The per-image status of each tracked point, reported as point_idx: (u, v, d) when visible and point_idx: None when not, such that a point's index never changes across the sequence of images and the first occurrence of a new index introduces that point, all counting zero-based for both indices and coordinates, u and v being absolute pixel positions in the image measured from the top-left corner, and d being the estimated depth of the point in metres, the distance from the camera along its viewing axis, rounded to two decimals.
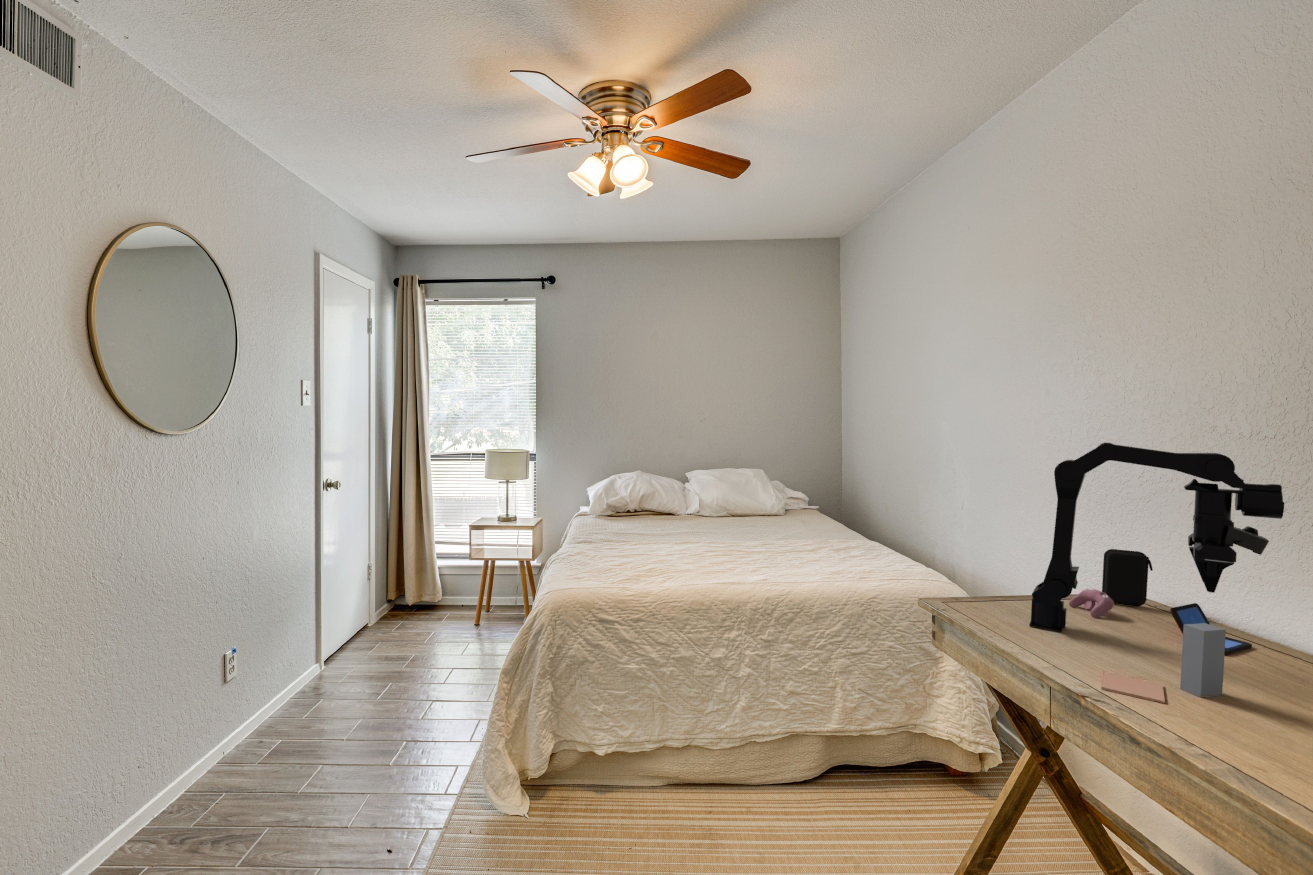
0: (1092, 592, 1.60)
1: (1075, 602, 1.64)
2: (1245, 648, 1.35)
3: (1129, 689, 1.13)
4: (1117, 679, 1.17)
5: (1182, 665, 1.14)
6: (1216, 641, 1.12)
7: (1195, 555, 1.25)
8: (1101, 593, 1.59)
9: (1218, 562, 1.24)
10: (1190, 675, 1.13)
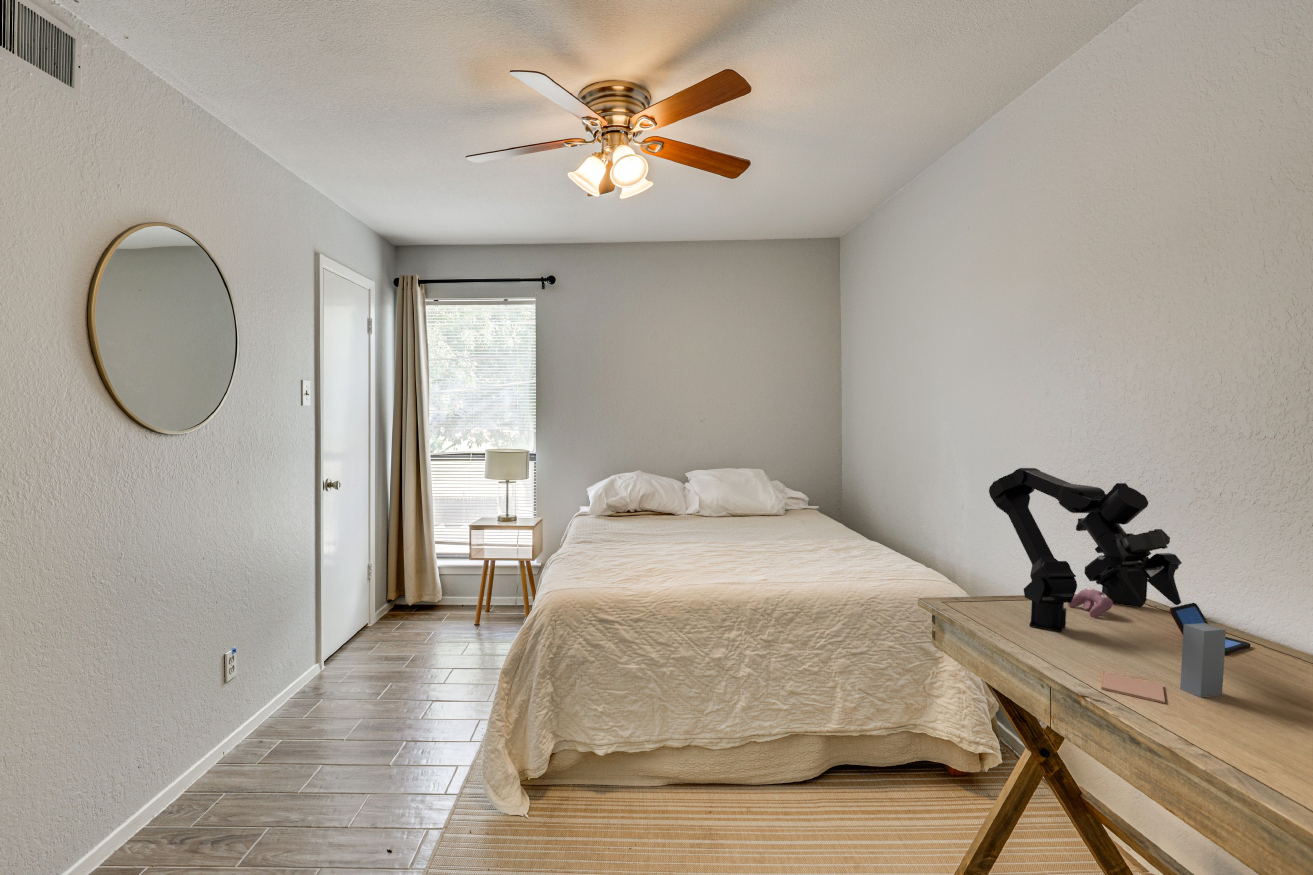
0: (1091, 592, 1.60)
1: (1074, 602, 1.64)
2: (1244, 648, 1.36)
3: (1129, 689, 1.13)
4: (1117, 679, 1.17)
5: (1182, 665, 1.14)
6: (1216, 641, 1.12)
7: None
8: (1100, 593, 1.59)
9: (1107, 574, 1.23)
10: (1190, 675, 1.13)
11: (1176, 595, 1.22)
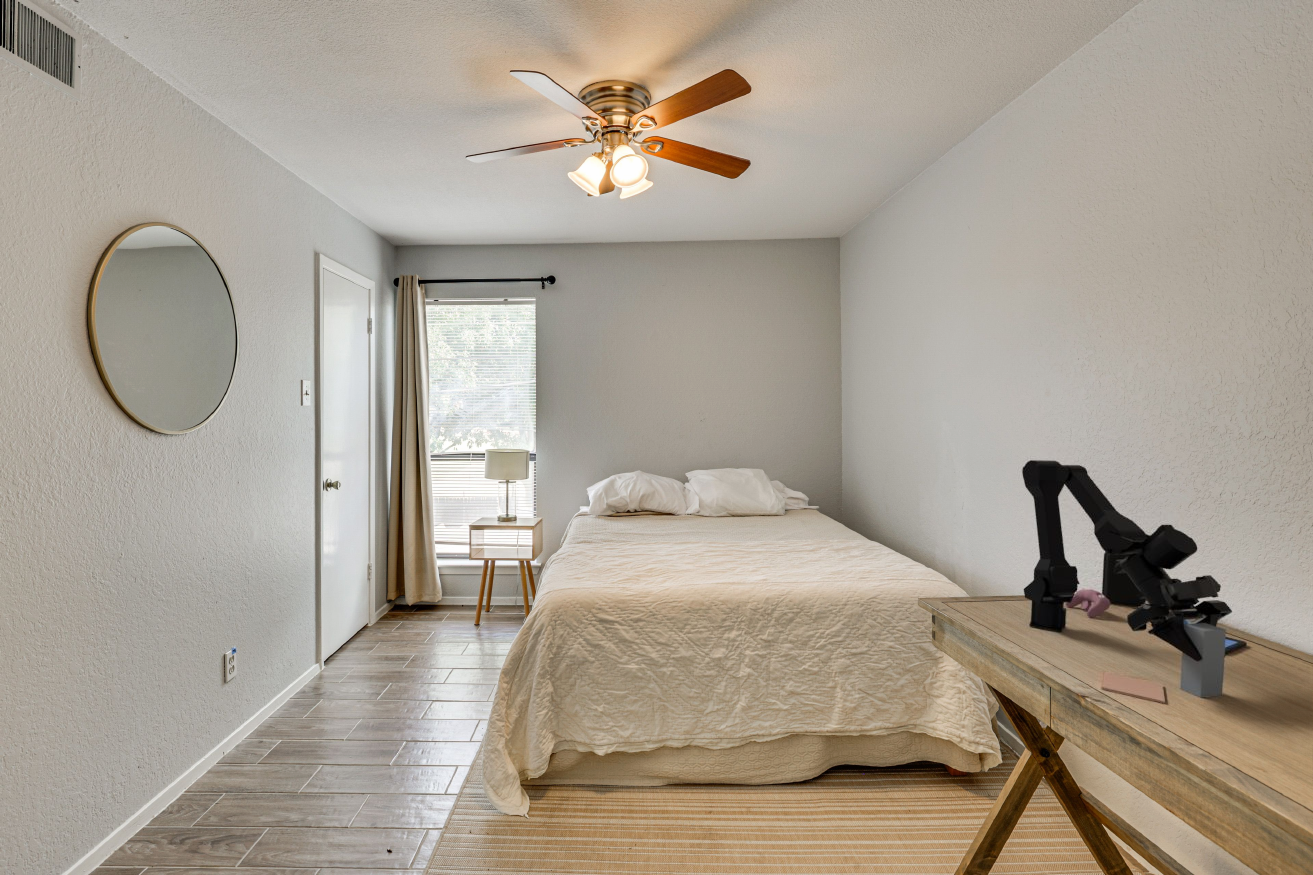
0: (1088, 592, 1.60)
1: (1071, 602, 1.64)
2: (1241, 647, 1.36)
3: (1129, 689, 1.13)
4: (1117, 679, 1.17)
5: (1182, 665, 1.14)
6: (1216, 641, 1.12)
7: (1131, 628, 1.17)
8: (1097, 593, 1.58)
9: (1161, 624, 1.15)
10: (1191, 675, 1.13)
11: None
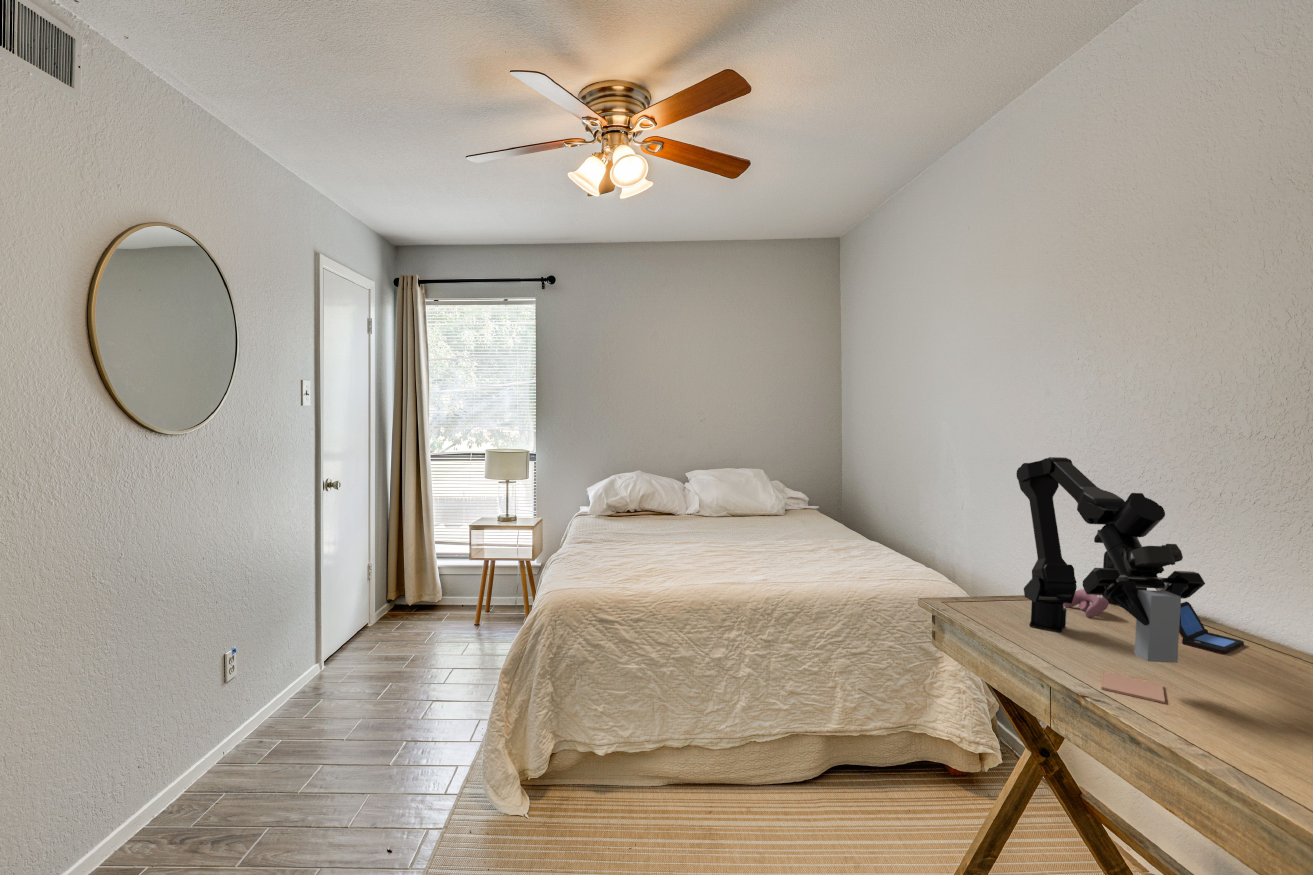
0: None
1: None
2: (1239, 646, 1.37)
3: (1129, 689, 1.13)
4: (1117, 679, 1.17)
5: (1136, 630, 1.15)
6: (1168, 607, 1.12)
7: None
8: None
9: (1112, 588, 1.17)
10: (1141, 639, 1.14)
11: None
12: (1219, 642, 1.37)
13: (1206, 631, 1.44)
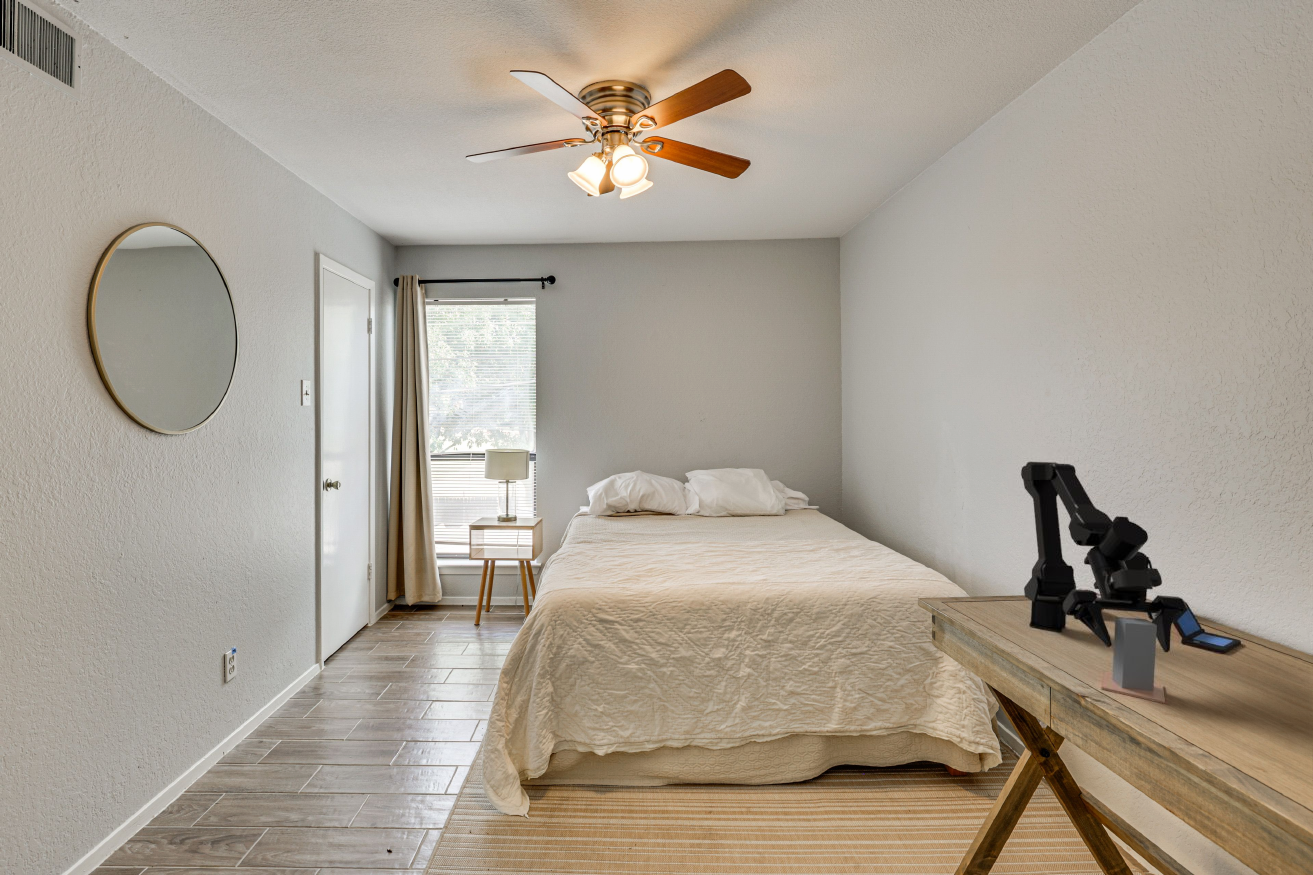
0: None
1: None
2: (1236, 645, 1.37)
3: (1129, 689, 1.13)
4: None
5: (1114, 657, 1.17)
6: (1143, 635, 1.13)
7: None
8: None
9: (1079, 609, 1.19)
10: (1117, 666, 1.15)
11: (1166, 641, 1.13)
12: (1217, 642, 1.37)
13: (1203, 630, 1.44)
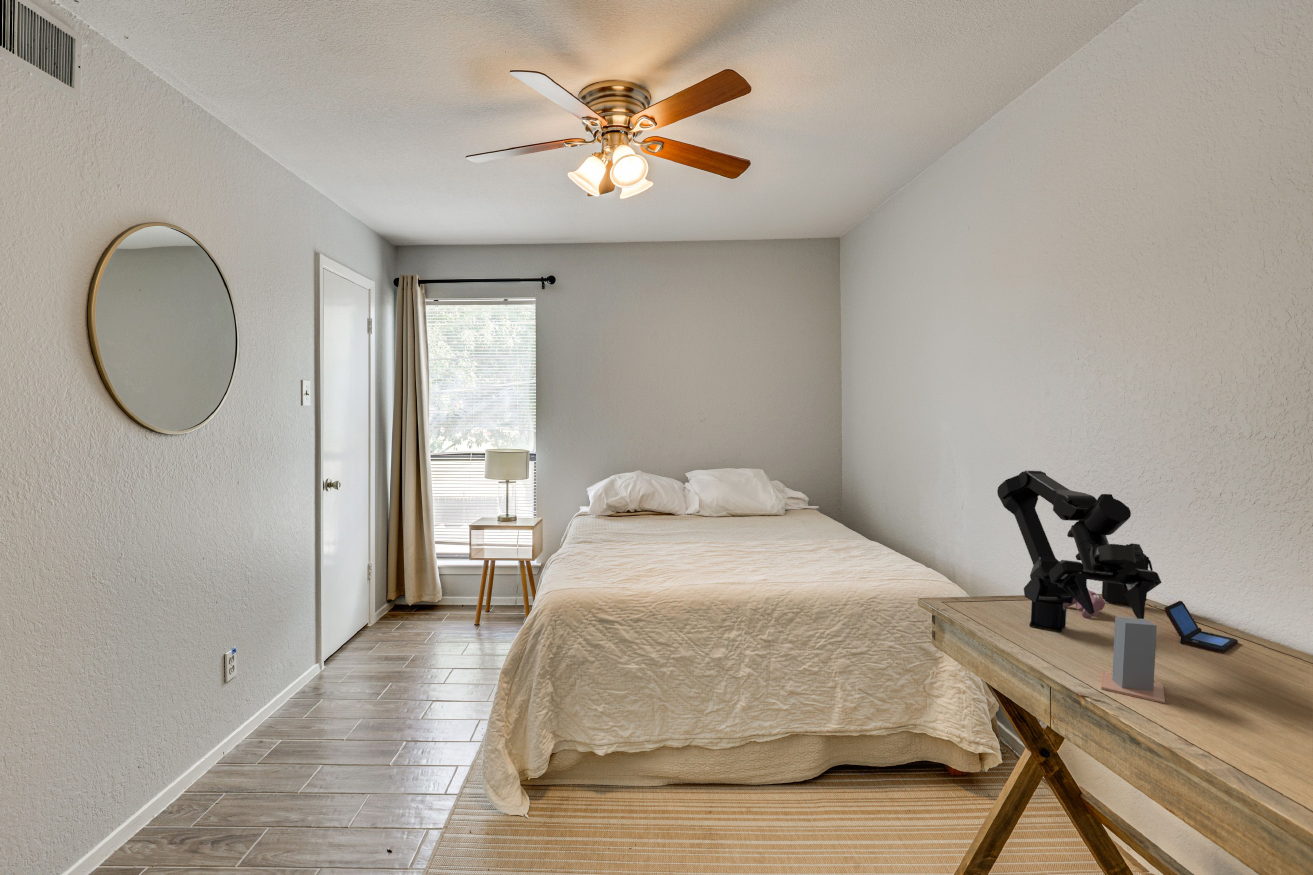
0: None
1: None
2: (1234, 644, 1.38)
3: (1129, 689, 1.13)
4: None
5: (1114, 657, 1.17)
6: (1143, 635, 1.13)
7: None
8: (1092, 593, 1.58)
9: (1066, 578, 1.27)
10: (1117, 666, 1.15)
11: (1141, 611, 1.22)
12: (1215, 641, 1.37)
13: (1200, 630, 1.45)
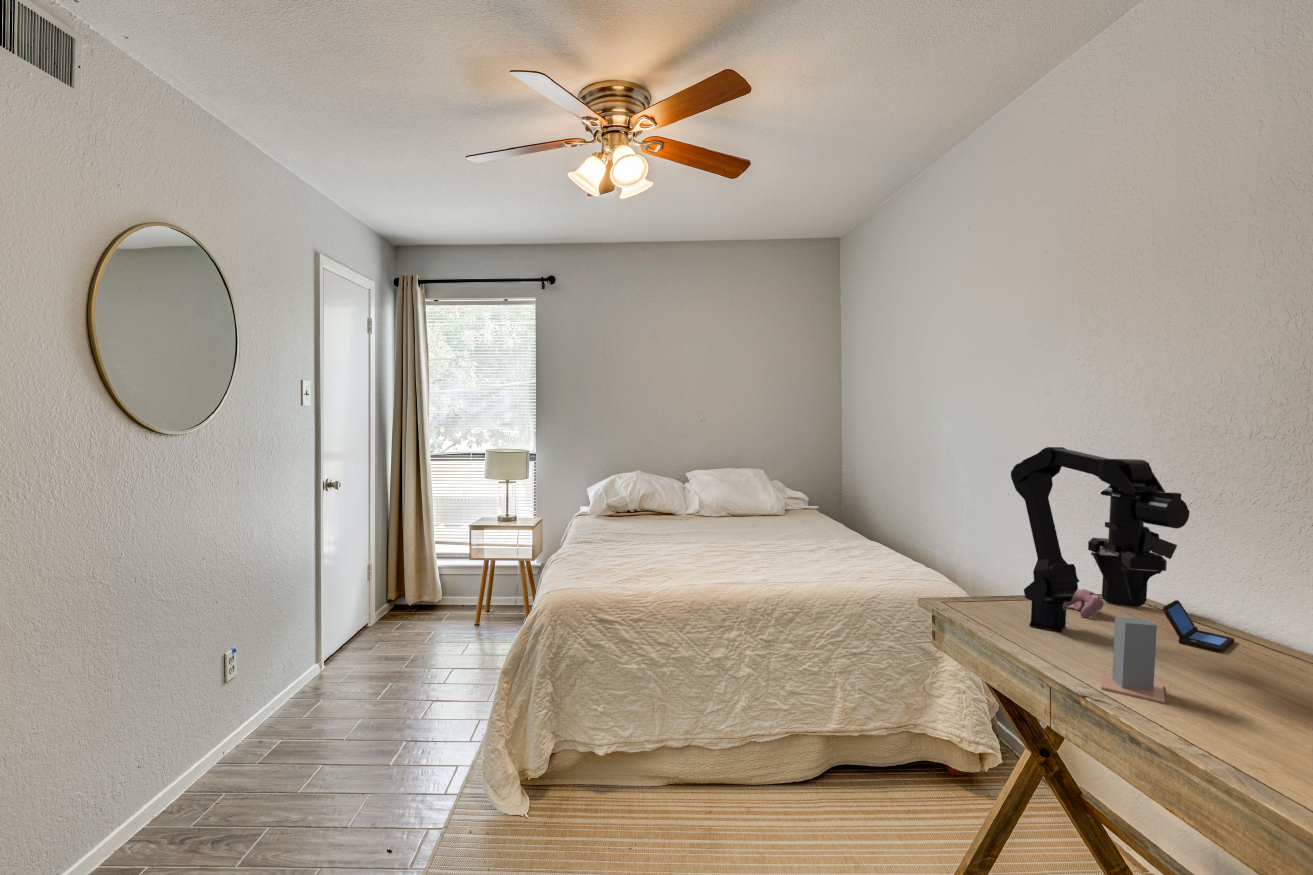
0: (1082, 592, 1.60)
1: (1065, 602, 1.63)
2: (1231, 643, 1.38)
3: (1129, 689, 1.13)
4: None
5: (1114, 657, 1.17)
6: (1143, 635, 1.13)
7: (1131, 566, 1.22)
8: (1091, 593, 1.58)
9: (1149, 571, 1.22)
10: (1117, 666, 1.15)
11: (1115, 582, 1.34)
12: (1213, 641, 1.38)
13: (1196, 629, 1.45)
